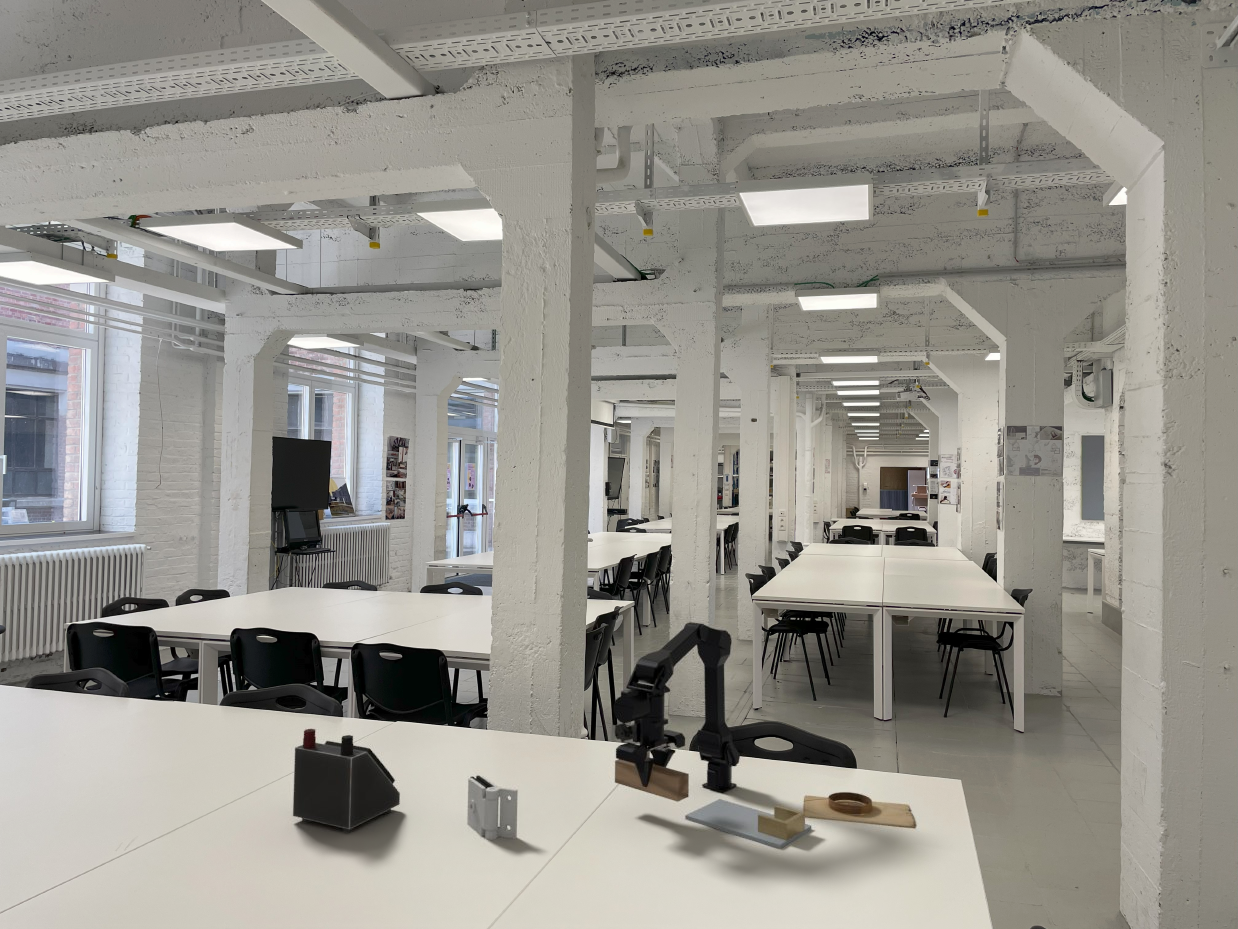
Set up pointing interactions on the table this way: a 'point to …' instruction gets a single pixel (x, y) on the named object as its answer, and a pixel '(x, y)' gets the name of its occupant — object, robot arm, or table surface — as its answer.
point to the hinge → (491, 808)
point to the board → (857, 810)
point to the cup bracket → (782, 823)
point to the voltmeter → (340, 783)
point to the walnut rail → (654, 780)
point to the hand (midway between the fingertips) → (650, 784)
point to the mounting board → (738, 822)
